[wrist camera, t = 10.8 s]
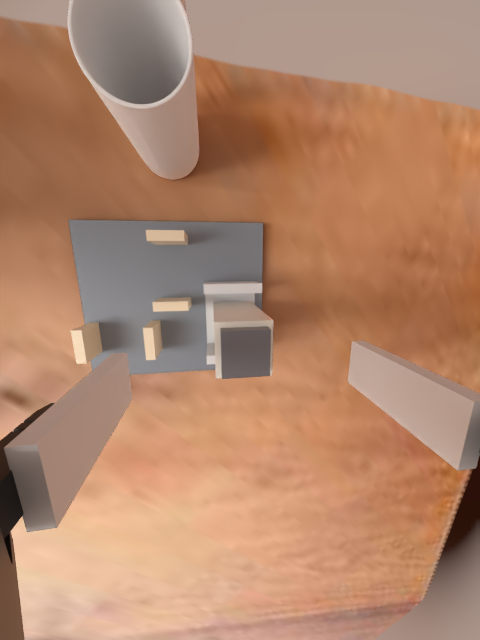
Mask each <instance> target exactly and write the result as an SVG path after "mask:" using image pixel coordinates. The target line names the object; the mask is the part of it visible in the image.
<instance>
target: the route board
mask: <svg viewBox="0 0 480 640" xmlns="http://www.w3.org/2000/svg"><path fill="white" fill-rule="evenodd" d="M68 221H69V227H70V233H71V240H72V246H73V252H74V258H75V265H76V271H77V277H78V284H79V290H80V296H81V302H82V309H83V315H84V321H85V325H83V326H80V327H78V328H76V329H73V330H71V335H72V341H73V347H74V353H75V358H76V364H83V363H88V362H89V361H91V365H92V370H94V369H95V368H96V367H97V366H98V365H99V364H101V363H102V362H103V361H104V360H105V359H106V358H107V357H109V356H110V355H111V354H114V353H127V357H128V365H129V374H130V375H132V374H149V373H166V372H183V371H200V370H215V343H214V312H213V302H236V301H250V302H252V303H253V304H254V305H255V306H257V307H258V308H259V309H260V310H261V311H262V272H263V223H243V222H183V221H122V220H68Z"/></svg>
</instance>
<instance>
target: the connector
mask: <svg viewBox="0 0 480 640" xmlns="http://www.w3.org/2000/svg"><path fill="white" fill-rule="evenodd" d="M213 312H214V343H215V370H216V379H217V378H222V379H228V378H244V377H260V376H270V375H272V363H273V324H274V320H273V319H271V318H270V317H269V316H268V315H266V314H265V313H264V312H263V311H261V310H260V309H259V308H258V307H257V306H255V305H254V304H253V303H252V302H250V301H236V302H213Z"/></svg>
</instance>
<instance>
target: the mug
mask: <svg viewBox="0 0 480 640" xmlns="http://www.w3.org/2000/svg"><path fill="white" fill-rule="evenodd" d="M68 32H69V38H70V42H71V46H72V49H73V52H74V55H75V57H76V60H77V62H78V64H79V66H80V67H81V69H82V71H83V73H84V74H85V76H86V77H87V78H88V80H89V81H90V82H91V84H92V86H93V87H94V89H95V90H96V92H97V93H98V95H99V96H100V98H101V99H102V101H103V102H104V104H105V105H106V107H107V108H108V110H109V111H110V113H111V114H112V116H113V117H114V118H115V120H116V121H117V123H118V124H119V126H120V127H121V129H122V130H123V132H124V133H125V134H126V136H127V137H128V139H129V140H130V142H131V143H132V145H133V146H134V148H135V149H136V151H137V152H138V154H139V155H140V157H141V158H142V159H143V161H144V162H145V163H146V165H147V166H148V167H149V168H150V170H151V171H153V172H154V173H155V174H157V175H158V176H160V177H162V178H165V179H170V180H176V179H181V178H183V177H185V176H187V175H188V174H190V173H191V172H192V171H193V169H194V168H195V166H196V164H197V161H198V158H199V132H198V117H197V101H196V83H195V67H194V56H193V38H192V32H191V27H190V23H189V20H188V17H187V14H186V5H185V0H70V2H69V8H68Z"/></svg>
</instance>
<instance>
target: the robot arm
mask: <svg viewBox="0 0 480 640" xmlns="http://www.w3.org/2000/svg"><path fill="white" fill-rule="evenodd" d="M348 383H350V384H351V385H352V386H353V387H355V388H356V389H357V390H358V391H359V392H361V393H362V394H363V395H364V396H366V397H367V398H368V399H369V400H371V401H372V402H373V403H374V404H376V405H377V406H378V407H379V408H381V409H382V410H383V411H384V412H385V413H387V414H388V415H389V416H390V417H392V418H393V419H394V420H395V421H397V422H398V423H399V424H400V425H402V426H403V427H404V428H405V429H407V430H408V431H409V432H410V433H412V434H413V435H414V436H415V437H416V438H418V439H419V440H420V441H421V442H423V443H424V444H425V445H426V446H428V447H429V448H430V449H431V450H433V451H434V452H435V453H436V454H438V455H439V456H440V457H441V458H442V459H444V460H445V461H446V462H447V463H449V464H450V465H451V466H452V467H454V468H455V469H456V470H457V471H460V470H467V469H474V468H476V466H477V462H478V458H479V455H480V393H478V392H475V391H473V390H471V389H469V388H467V387H464V386H462V385H460V384H458V383H456V382H453V381H451V380H449V379H447V378H445V377H443V376H440V375H438V374H436V373H434V372H432V371H429V370H427V369H425V368H423V367H421V366H418V365H416V364H414V363H412V362H410V361H408V360H405V359H403V358H401V357H399V356H397V355H394V354H392V353H390V352H388V351H386V350H383V349H381V348H379V347H377V346H375V345H372V344H370V343H368V342H366V341H364V340H362V341H352V347H351V356H350V366H349V375H348ZM132 399H133V398H132V390H131V382H130V374H129V365H128V357H127V353H114V354H111V355H110V356H109V357H107V358H106V359H105V360H104V361H103V362H102V363H101V364H99V365H98V366H97V367H96V368H95V369H94V370H92V371H91V372H90V373H89V374H88V375H87V376H86V377H84V378H83V379H82V380H81V381H80V382H79V383H78V384H76V385H75V386H74V387H73V388H72V389H71V390H70V391H68V392H67V393H66V394H65V395H64V396H63V397H62V398H60V399H59V400H58V401H57V402H56V403H51V404H49V405H47V406H45V407H43V408H42V409H40V410H38V411H36V412H35V413H33V414H32V415H31V416H30V417H29V418H27V419H26V420H25V421H24V423H21V424H20V425H19V426H18V427H16V428H15V429H14V431H13V432H10V433H9V434H8V435H7V436H6V437H4V438H3V439H2V440H1V441H0V640H24V632H23V624H22V615H21V606H20V597H19V589H18V580H17V571H16V562H15V554H14V545H13V539H12V536H11V532H10V531H11V530H12V529H13V527H14V526H15V525H16V523H17V522H18V521H19V519H20V518H21V517H22V516H23V519H24V523H25V527H26V530H27V532H31V531H38V530H45V529H52V528H57V527H58V525H59V524H60V522H61V520H62V518H63V517H64V515H65V513H66V512H67V510H68V508H69V506H70V505H71V503H72V501H73V500H74V498H75V496H76V495H77V493H78V491H79V489H80V488H81V486H82V484H83V483H84V481H85V479H86V477H87V476H88V474H89V472H90V471H91V469H92V467H93V465H94V464H95V462H96V460H97V459H98V457H99V455H100V454H101V452H102V450H103V448H104V447H105V445H106V443H107V442H108V440H109V438H110V436H111V435H112V433H113V431H114V430H115V428H116V426H117V425H118V423H119V421H120V419H121V418H122V416H123V414H124V413H125V411H126V409H127V407H128V406H129V404H130V402H131V401H132Z"/></svg>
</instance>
